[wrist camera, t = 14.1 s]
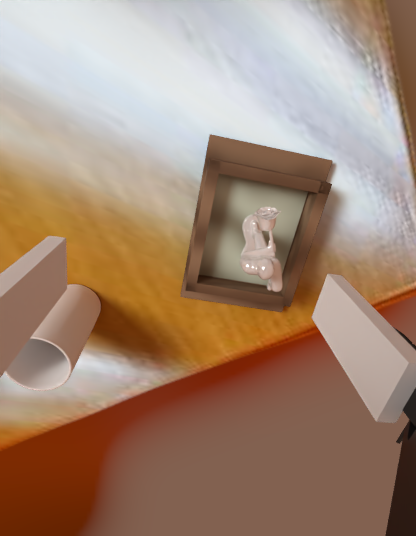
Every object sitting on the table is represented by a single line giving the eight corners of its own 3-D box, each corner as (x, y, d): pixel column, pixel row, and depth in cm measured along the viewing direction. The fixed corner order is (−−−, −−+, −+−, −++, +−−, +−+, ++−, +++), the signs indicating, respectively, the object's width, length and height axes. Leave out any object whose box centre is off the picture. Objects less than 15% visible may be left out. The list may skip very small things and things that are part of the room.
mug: (105, 286, 41) (73, 343, 30) (101, 328, 43) (69, 395, 32) (25, 272, 40) (-39, 326, 29) (26, 317, 42) (-34, 381, 31)
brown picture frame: (209, 134, 34) (211, 134, 31) (328, 160, 36) (342, 162, 32) (180, 293, 42) (179, 306, 38) (280, 308, 43) (286, 322, 40)
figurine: (239, 272, 39) (256, 326, 28) (223, 202, 36) (236, 232, 25) (275, 264, 39) (307, 314, 28) (263, 192, 36) (295, 218, 25)
